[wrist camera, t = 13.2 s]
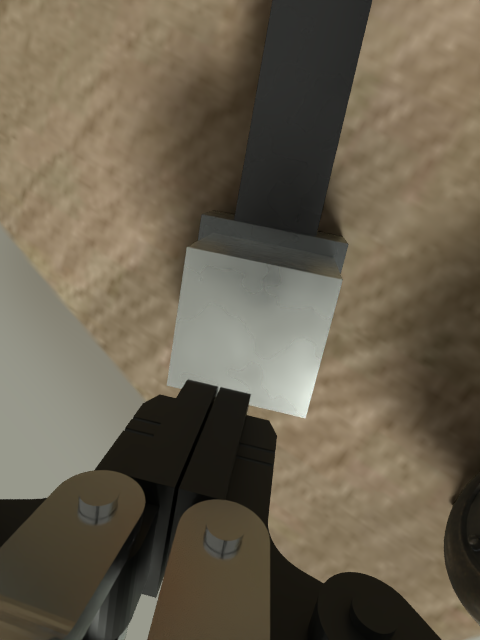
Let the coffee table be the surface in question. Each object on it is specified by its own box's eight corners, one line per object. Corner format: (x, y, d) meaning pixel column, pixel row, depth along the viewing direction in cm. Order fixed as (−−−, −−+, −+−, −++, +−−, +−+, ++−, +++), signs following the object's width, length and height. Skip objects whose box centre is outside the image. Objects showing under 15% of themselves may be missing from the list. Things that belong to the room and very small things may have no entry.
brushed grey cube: (213, 232, 21) (186, 246, 16) (333, 257, 20) (342, 279, 16) (195, 343, 23) (166, 385, 18) (305, 368, 22) (305, 418, 17)
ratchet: (254, -46, 20) (235, -138, 14) (409, -22, 19) (453, -108, 14) (194, 330, 26) (164, 372, 20) (311, 356, 25) (314, 406, 19)
